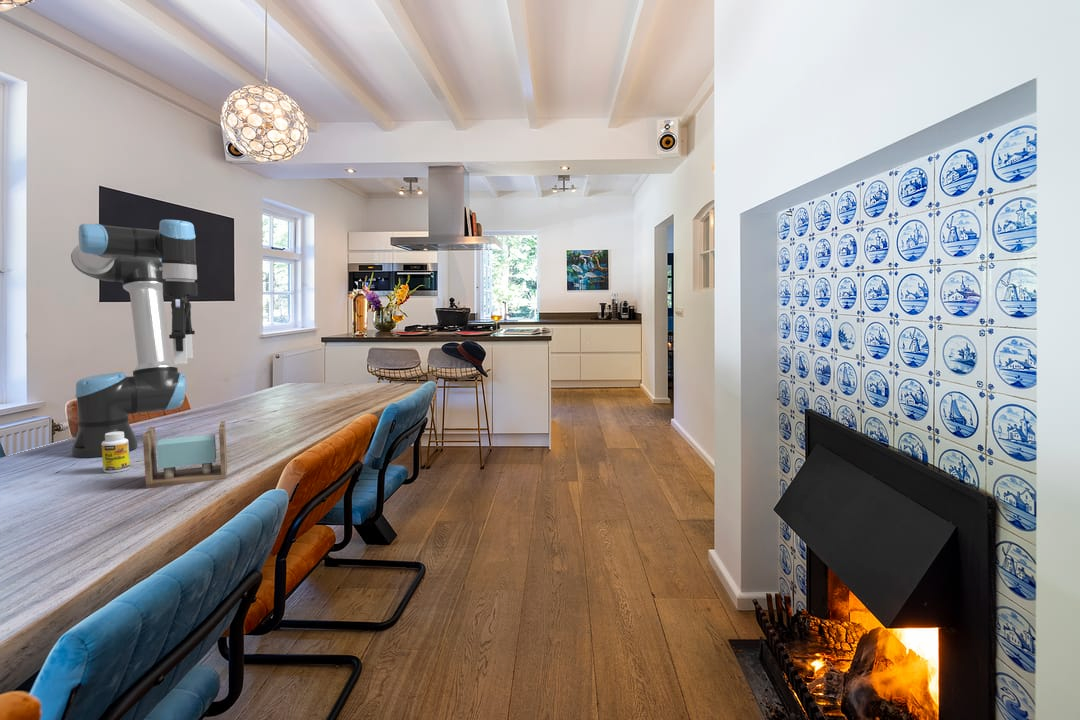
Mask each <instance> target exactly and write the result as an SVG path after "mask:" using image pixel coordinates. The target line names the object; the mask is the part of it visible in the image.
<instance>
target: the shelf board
mask: <svg viewBox="0 0 1080 720" xmlns="http://www.w3.org/2000/svg"><path fill="white" fill-rule="evenodd" d="M216 449H217V447H216V434H215V433H214V434H206V435H195V436H186V437H185V436H184V437H176V438H164V439H159V440H158V442H157V443H156V457H157V470H161V469H163V470H164V468H171V467H176V468H177V467H186V466H187V467H188V466H195V465H202V464H204V463H212V464H213V463H216V462H217V461H216V460H217V450H216Z"/></svg>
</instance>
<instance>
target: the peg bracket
mask: <svg viewBox="0 0 1080 720" xmlns="http://www.w3.org/2000/svg"><path fill="white" fill-rule="evenodd" d="M155 429H156V427H155V426H151V427H149V428H147V430H146V431H145V433H144V434H143V435H142V446H143V459H144V475H145V476H144V477H145V489H153V488H154V489H155V488H161V487H169V486H176V485H183V484H184V485H185V484H192V483H193V484H194V483H199V482H207V481H215V480H223V479H226V478H227V474H228V473H227V472H228V451H227V433H226V432H227V431H226V421H225V420H222V421H220V423H219V427H218V436H219V437H218V438H219V440H218V441H219V457H220V460H219V461H220V464H217V465H213V462H212V463H204V464H201V467H194V468H193V467H192V468H185V469H176V468H177V467H171V468H163V471H158V460H157V443H156V441H157V440H156V430H155Z"/></svg>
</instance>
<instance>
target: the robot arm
mask: <svg viewBox="0 0 1080 720" xmlns="http://www.w3.org/2000/svg"><path fill="white" fill-rule="evenodd" d="M158 226H159V229H147V228H138V227H137V228H135V227H124V226H115V225H106V224H100V223H93V224H92V223H81V224H80V225H79V226H78V244H77V245H76V246H75V247H74V248H73V250H72V252H71V253H70V254H71V255H70V258H71V259H70V260H71V263H72V265H73V266H74V267H75V269H76V270H77V271H79V272H80V273H82V274H83V275H85V276H87V277H90V278H94V279H96V280H100V281H104V282H117V283H122V288H123V290H125V291H126V292H128V293H129V297H130V308H131V314H132V315H131V316H132V321H133V322H132V324H133V331H134V341H135V349H136V357H137V366H136V367H135V368H134V369H133V370H132V375H131V376H127V374H126V373H125V372H123V371H122V372H121V371H120V372H119V371H118V372H108V373H102V374H96V375H91V376H87V377H83V378H81V379H79V380H78V381H76V384H75V394H74V395H75V398H76V406H77V408H76V411H77V424H78V429H77V432H76V436H75V439H74V441H73V445H72V448H71V449H72V451H71V453H72V456H73V457H76V458H99V457H102V442H103V441H105V434H106V433H110V432H118V431H121V432H124V438H126V439H128V443H129V452H131V451H133V450H136V449H137V448H138V439H137V437H136V435H135V433H134V431H133V429H132V427H131V426H130V422H129V415H132V414H133V415H134V414H142V413H152V412H160V411H161V412H165V411H169V410H174V409H178V408H180V407H182V405H183V403H184V400H185V397H186V389H187V387H186V386H187V383H186V382H187V381H186V375H185V374H184V373H183V372H179V370H178V366H177V365H188V359H193V358H194V355H193V353H194V352H193V335H195V330H193V326H192V317H191V314H192V310H191V308H192V304H191V302H190V301H191V300H190V299H189V298H188V297H197V296H198V294H199V293H198V283H197V282H195V281H196V280H198V271H197V270H198V269H197V267H198V266H197V260H196V259H197V255H196V254H197V253H196V237H197V236H196V233H195V226H194V224H193V223H192V222H190V221H185V220H179V219H161V220H160V221H159V225H158ZM164 296H171V297H172V296H173V298H172V300H171V301H170V303H171V304H170V306H171V307H170V308H171V334H169V335H168V327H167V317H166V311H165V309H166V308H165V302H164ZM170 339H172V344H173V346H172V347H173V350H172V351H173V363H172V360H171V353H170V351H171V350H170V342H169V340H170Z"/></svg>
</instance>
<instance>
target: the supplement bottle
mask: <svg viewBox="0 0 1080 720" xmlns="http://www.w3.org/2000/svg"><path fill="white" fill-rule="evenodd" d="M101 457H102V470H103V472H104V473H107V474H109V473H110V474H114V473H120V472H121V473H122V472H124V471H127V470H129V469H130V466H131V465H130V464H131V461H130V451H129V443H128V439H126V438H124V432H121V431H118V432H110V433H106V434H105V441H103V442H102V456H101Z"/></svg>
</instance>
